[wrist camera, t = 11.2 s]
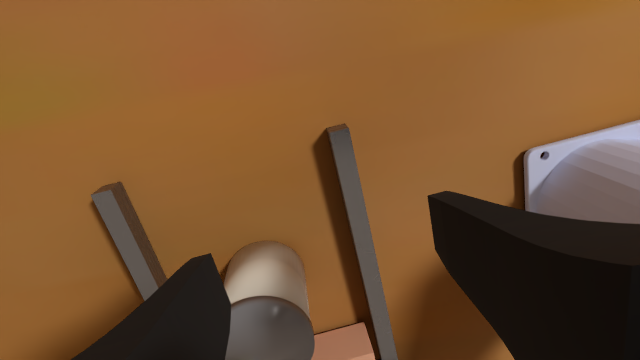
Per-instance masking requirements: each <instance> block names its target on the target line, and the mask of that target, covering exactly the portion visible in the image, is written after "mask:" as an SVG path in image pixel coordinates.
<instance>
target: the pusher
mask: <svg viewBox="0 0 640 360" xmlns="http://www.w3.org/2000/svg"><path fill="white" fill-rule="evenodd" d="M314 340H315V348H314V353H313V356H312V359H311V360H375V356H374V352H373V349H372V346H371V342H370V339H369V336H368V333H367V330H366V326H365V323H364V322H362V323H358V324H354V325H351V326H347V327H343V328H340V329H336V330H332V331H329V332H325V333H321V334H317V335H314Z"/></svg>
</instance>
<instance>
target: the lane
mask: <svg viewBox="0 0 640 360" xmlns="http://www.w3.org/2000/svg"><path fill="white" fill-rule="evenodd" d="M326 130H327V134H328V138H329V142H330V147H331V151H332V155H333V159H334V164H335V168H336V172H337V176H338V181H339V185H340V189H341V193H342V198H343V202H344V206H345V210H346V215H347V219H348V223H349V227H350V232H351V236H352V240H353V244H354V249H355V253H356V257H357V261H358V266H359V270H360V274H361V278H362V283H363V287H364V291H365V295H366V300H367V304H368V308H369V312H370V317H371V321H372V325H373V329H374V334H375V338H376V342H377V346H378V351H379V355H380V358H381V359H379V360H398V358H397V353H396V348H395V344H394V339H393V334H392V329H391V325H390V320H389V315H388V311H387V306H386V301H385V296H384V292H383V287H382V282H381V278H380V273H379V268H378V263H377V259H376V254H375V249H374V245H373V240H372V235H371V231H370V226H369V221H368V216H367V212H366V207H365V202H364V198H363V193H362V188H361V183H360V179H359V174H358V169H357V165H356V160H355V155H354V150H353V146H352V141H351V136H350V132H349V128H348V127H347V126H346V124H345V123H344V124H341V125H337V126H333V127H329V128H326ZM91 197H92V199H93V201H94V203H95V205H96V207H97V209H98V211H99V212H100V214H101V216H102V218H103V220H104V222H105V224H106V226H107V228H108V230H109V232H110V234H111V236H112V238H113V240H114V242H115V244H116V246H117V248H118V250H119V252H120V254H121V256H122V258H123V260H124V262H125V263H126V265H127V267H128V269H129V271H130V273H131V275H132V277H133V279H134V281H135V283H136V285H137V287H138V289H139V291H140V293H141V295H142V297H143V299H144V301H146V300H147V299H148V298H149V297H150V296H151V295H152V294H153V293H154V292H155V291H156V290H157V289H158V288H159V287H161V286H162V285H163V284H164V283H165V282H166V281H167V278H166V276H165V274H164V272H163V270H162V268H161V266H160V263H159V261H158V259H157V257H156V255H155V253H154V251H153V249H152V246H151V244H150V242H149V240H148V238H147V236H146V234H145V232H144V229H143V227H142V225H141V223H140V221H139V219H138V217H137V215H136V212H135V210H134V208H133V206H132V204H131V202H130V200H129V197H128V195H127V193H126V191H125V189H124V187H123V185H122V183H121V182H117V183H114V184H110V185H106V186H102V187H101V188H99V189H98V190H97V191H95V192H94V193H93V194H91Z"/></svg>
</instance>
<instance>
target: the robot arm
mask: <svg viewBox="0 0 640 360" xmlns="http://www.w3.org/2000/svg"><path fill="white" fill-rule="evenodd" d="M543 152H544V156H543V157H542V158H540V156H541V154H542V153H543ZM524 184H525V210H520V209H515V208H511V207H507V206H503V205H499V204H495V203H492V202H488V201H484V200H481V199H477V198H474V197H470V196H466V195H463V194H459V193H455V192H450V191H444V192H440V193H436V194H432V195H429V196H428V202H429V209H430V216H431V224H432V231H433V238H434V245H435V250H436V252H437V253H438V255H439V257H440V259H441V260H442V262H443V264H444V265H445V267H446V269H447V270H448V272H449V273H450V275H451V276H452V277H453V279H454V280H455V281H456V282H457V284H458V285H459V286H460V287H461V289H462V290H463V291H464V292H465V294H466V295H467V296H468V297H469V299H470V300H471V301H472V302H473V304H474V305H475V306H476V307H477V308H478V310H479V311H480V312H481V313H482V315H483V316H484V317H485V318H486V320H487V321H488V322H489V323H490V324H491V326H492V327H493V328H494V330H495V331H496V332H497V334H498V335H499V336H500V338H501V339H502V341H503V342H504V344H505V345H506V347H507V348H508V350H509V351H510V353H511V354H512V356H513V357H514V359H515V360H640V120H637V121H633V122H629V123H625V124H622V125H618V126H614V127H610V128H607V129H603V130H599V131H595V132H591V133H588V134H584V135H580V136H576V137H572V138H569V139H565V140H561V141H557V142H553V143H550V144H546V145H542V146H538V147H534V148H531V149H529V150H528V151H527V152H526V153H525V155H524ZM230 322H231V302H230V300H229V297H228V295H227V292H226V290H225V287H224V285H223V282H222V280H221V278H220V275H219V273H218V270H217V268H216V265H215V263H214V260H213V258H212V255H211V253H210V254H206V255H202V256H198V257H195V258H192V259H190V260H189V261H188V262H186V263H185V264H184V265H183V266H182V267H181V268H180V269H178V270H177V271H176V272H175V273H174V274H173V275H172V276H171V277H170V278H169V279H168V280H167V281H166V282H165V283H164V284H163V285H162V286H161V287H159V288H158V289H157V290H156V291H155V292H154V293H153V294H152V295H151V296H150V297H149V298H148V299H147V300H146V301H144V302H143V303H142V304H141V305H140V306H139V307H138V308H137V309H135V310H134V311H133V312H132V313H131V314H130V315H129V316H127V317H126V318H125V319H124V320H123V321H122V322H121V323H119V324H118V325H117V326H116V327H114V328H113V329H112V330H111V331H109V332H108V333H107V334H106V335H104V336H103V337H102V338H100V339H99V340H98V341H96V342H95V343H94V344H92V345H91V346H90V347H88V348H87V349H86V350H84V351H83V352H81V353H80V354H79V355H77V356H76V357H74V358H73V359H71V360H225V356H226V351H227V345H228V340H229V334H230Z"/></svg>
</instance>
